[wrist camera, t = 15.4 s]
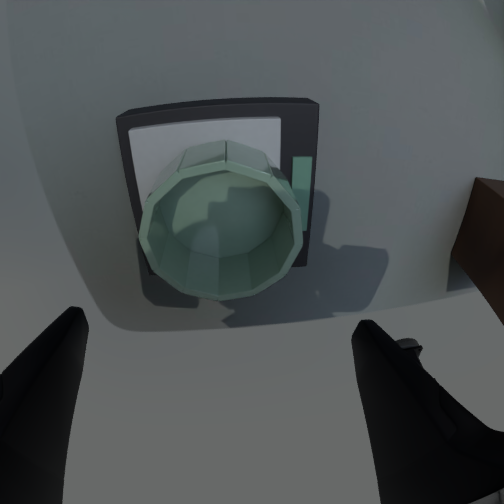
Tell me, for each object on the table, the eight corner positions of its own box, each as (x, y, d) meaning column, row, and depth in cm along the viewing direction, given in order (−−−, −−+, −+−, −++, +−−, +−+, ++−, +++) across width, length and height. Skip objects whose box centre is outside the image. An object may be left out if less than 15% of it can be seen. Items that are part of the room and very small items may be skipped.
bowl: (312, 208, 16) (331, 246, 13) (217, 275, 18) (217, 319, 15) (228, 109, 13) (228, 125, 10) (130, 200, 15) (109, 237, 12)
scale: (299, 246, 21) (308, 272, 19) (154, 254, 20) (147, 281, 18) (308, 97, 15) (323, 105, 13) (127, 109, 14) (110, 119, 12)
